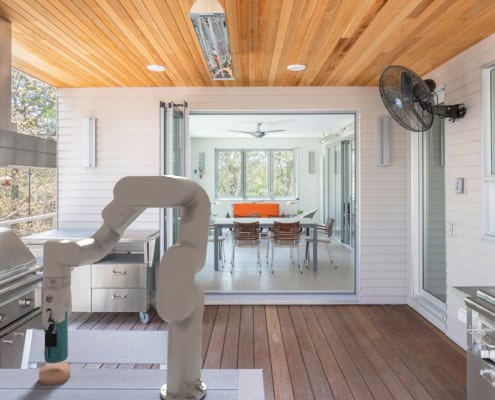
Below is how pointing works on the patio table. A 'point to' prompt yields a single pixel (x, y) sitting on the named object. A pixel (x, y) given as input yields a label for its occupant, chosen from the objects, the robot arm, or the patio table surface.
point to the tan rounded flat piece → (54, 373)
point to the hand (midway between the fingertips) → (56, 341)
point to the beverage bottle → (59, 343)
